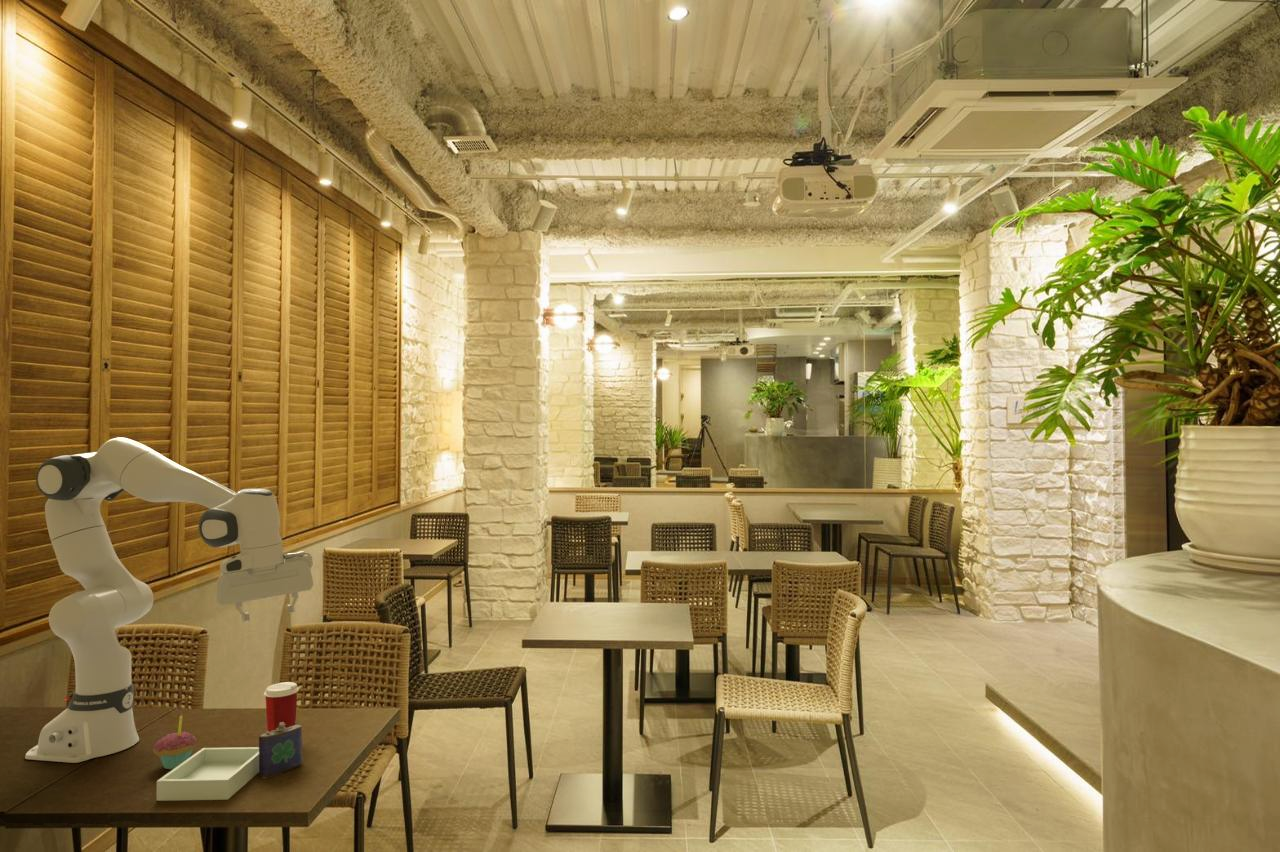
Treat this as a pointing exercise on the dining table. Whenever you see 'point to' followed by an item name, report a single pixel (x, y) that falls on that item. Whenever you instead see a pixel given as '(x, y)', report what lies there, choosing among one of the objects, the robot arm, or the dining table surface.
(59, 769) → the dining table surface
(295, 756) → the flask
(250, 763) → the serving bin
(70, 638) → the robot arm
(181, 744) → the cupcake
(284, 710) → the paper cup
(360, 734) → the dining table surface
